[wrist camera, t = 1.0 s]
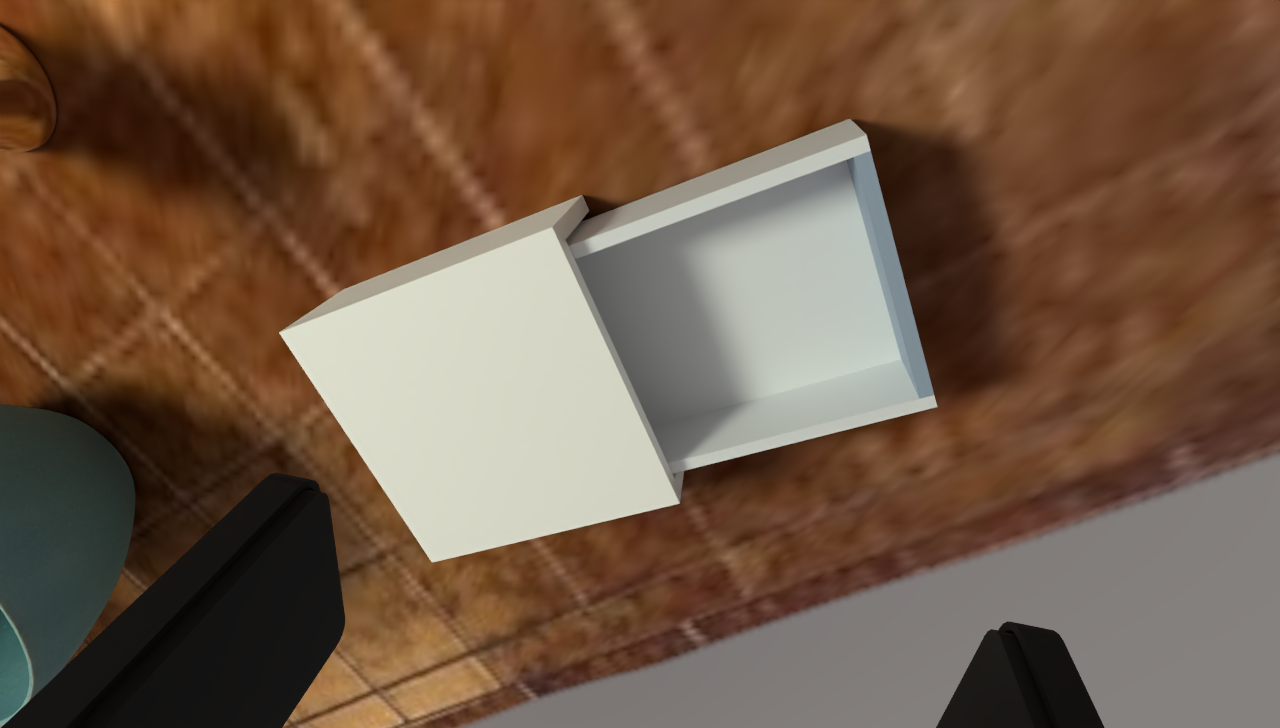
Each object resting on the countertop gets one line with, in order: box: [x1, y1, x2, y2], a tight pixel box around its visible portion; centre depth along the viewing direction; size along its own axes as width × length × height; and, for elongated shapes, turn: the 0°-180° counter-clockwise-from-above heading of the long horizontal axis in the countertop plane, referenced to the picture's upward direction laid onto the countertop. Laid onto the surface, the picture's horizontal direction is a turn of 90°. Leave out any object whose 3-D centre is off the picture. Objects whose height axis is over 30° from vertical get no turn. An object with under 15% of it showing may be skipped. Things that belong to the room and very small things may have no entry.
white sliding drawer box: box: [566, 119, 937, 474], centre depth 32 cm, size 24×12×4 cm, turn 112°
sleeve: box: [279, 195, 684, 562], centre depth 33 cm, size 14×14×6 cm
